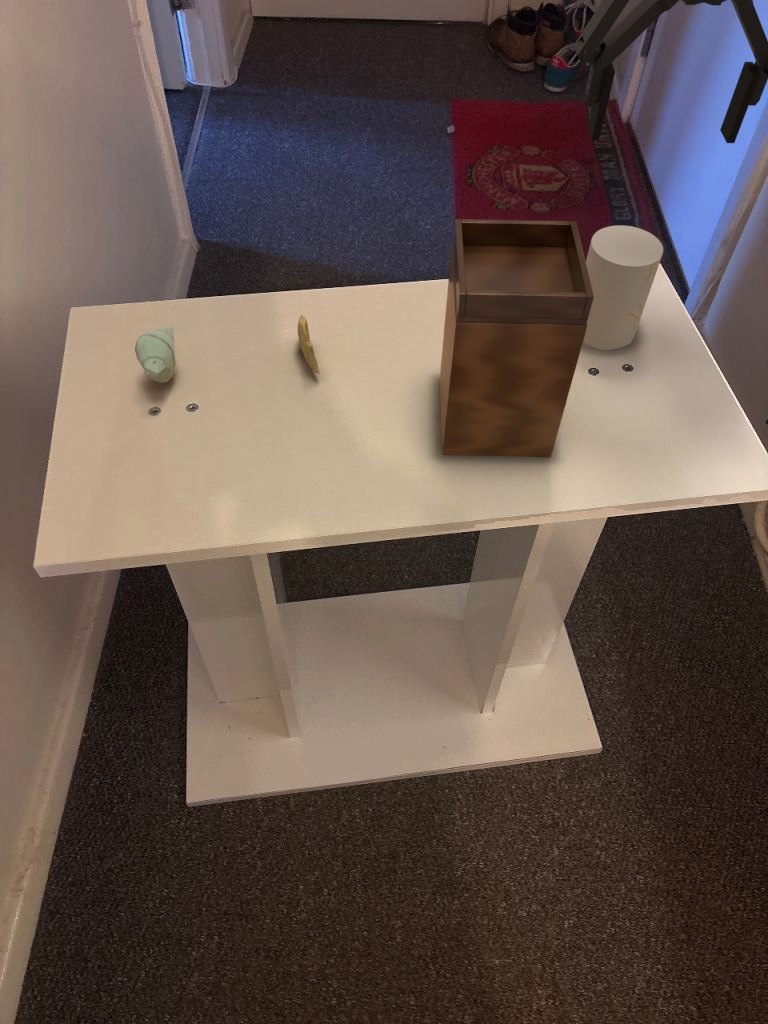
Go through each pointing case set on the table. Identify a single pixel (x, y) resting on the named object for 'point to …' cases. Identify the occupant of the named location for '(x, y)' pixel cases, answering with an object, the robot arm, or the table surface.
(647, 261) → the white patterned cylinder
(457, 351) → the stand
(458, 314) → the holder
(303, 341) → the pastry
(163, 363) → the pale green rounded piece
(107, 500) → the table surface
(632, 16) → the robot arm
